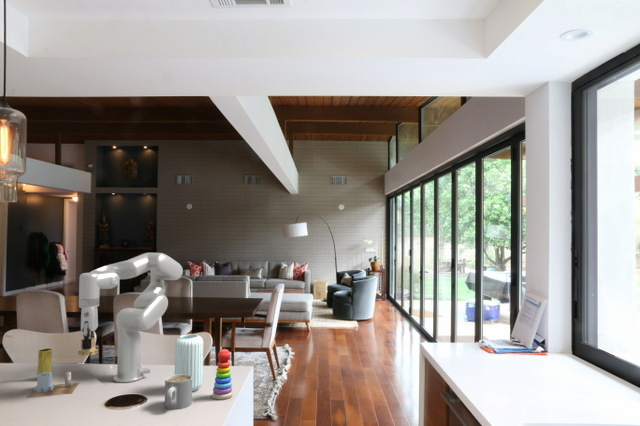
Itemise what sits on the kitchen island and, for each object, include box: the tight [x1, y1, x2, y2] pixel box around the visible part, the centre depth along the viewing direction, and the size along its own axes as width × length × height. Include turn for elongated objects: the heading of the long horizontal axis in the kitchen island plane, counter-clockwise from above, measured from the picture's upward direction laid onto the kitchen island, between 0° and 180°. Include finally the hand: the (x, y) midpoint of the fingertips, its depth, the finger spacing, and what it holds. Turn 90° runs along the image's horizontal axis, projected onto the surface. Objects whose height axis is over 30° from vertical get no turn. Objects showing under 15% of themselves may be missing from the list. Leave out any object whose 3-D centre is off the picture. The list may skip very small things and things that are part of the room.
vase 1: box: [37, 348, 53, 375], centre depth 198 cm, size 6×6×14 cm
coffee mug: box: [164, 374, 193, 411], centre depth 170 cm, size 13×10×10 cm
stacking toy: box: [211, 348, 234, 400], centre depth 180 cm, size 8×8×19 cm
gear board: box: [26, 371, 80, 399], centre depth 184 cm, size 16×14×8 cm
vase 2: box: [174, 333, 204, 393], centre depth 189 cm, size 12×12×22 cm
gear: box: [33, 372, 56, 392], centre depth 184 cm, size 7×7×6 cm
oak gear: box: [77, 337, 99, 357], centre depth 184 cm, size 7×7×6 cm
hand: (88, 346), depth 184 cm, fingers closed on oak gear, 5 cm apart
